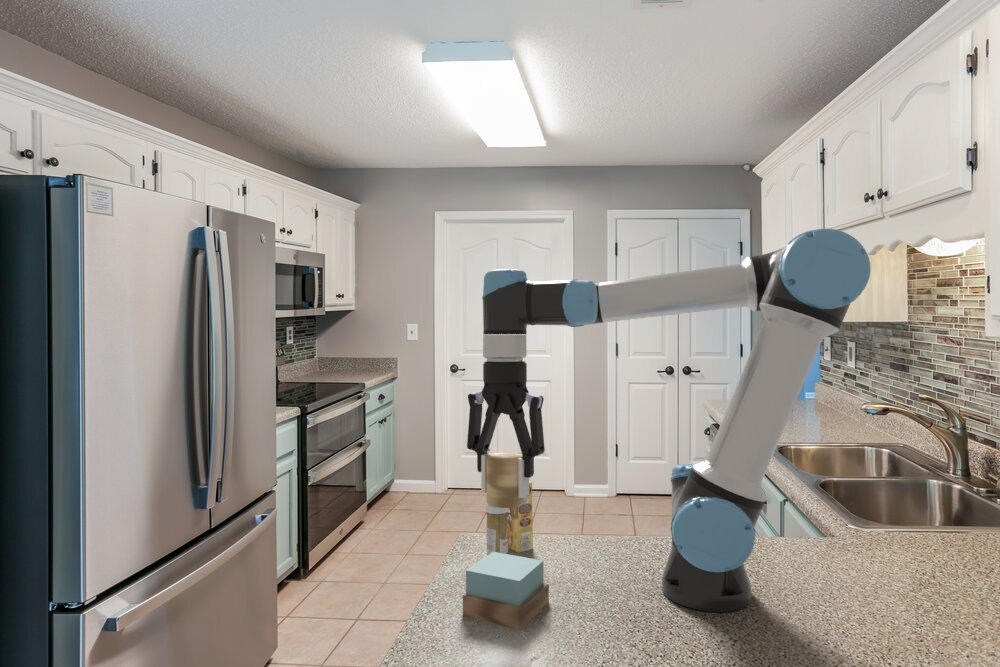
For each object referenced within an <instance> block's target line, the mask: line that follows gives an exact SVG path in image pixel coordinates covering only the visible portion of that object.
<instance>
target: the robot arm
mask: <svg viewBox="0 0 1000 667" xmlns="http://www.w3.org/2000/svg"><path fill="white" fill-rule="evenodd" d="M870 260H871V259H870V257H869V254H868V253H867V250H866V249H865V247H864V245H862V244H861V242H860V241H859V240H858V239H857V238H855V237H854V236H853V235H852V234H849V233H848V232H845V231H842V230H838V229H836V228H835V229H834V228H818V229H812V230H807V231H805V232H802V233H800V234H798V235H796V236H795V237H794V238H791V240H790V241H789V242H788V243H787V244H786V245H785V246H784V247H782V248H779V249H776V250H775V251H771V252H768V253H764V254H760V255H753V256H747V257H746V258H745V259H744V260H743V261H742V262H741V263H738V264H731V265H730V264H729V265H723V266H715V267H714V266H713V267H707V268H700V269H693V270H686V271H679V272H670V273H669V272H668V273H662V274H655V275H648V276H647V275H646V276H639V277H633V278H626V279H618V280H617V279H616V280H612V281H603V282H596V283H595V282H594V281H593V280H589V279H588V280H587V279H586V280H585V279H583V280H582V279H581V280H580V279H572V280H570V279H569V280H567V279H566V280H547V281H545V280H544V281H543V280H542V281H531V280H529V279H528V278H527V273H526V272H525V271H524V270H521V269H515V268H513V269H507V268H504V269H502V268H501V269H493V270H489V271H487V272H486V273H485V275H484V277H483V288H482V290H483V292H482V295H481V296H482V318H483V319H482V321H483V323H482V324H483V331H482V332H483V333H482V334H483V338H482V342H483V343H482V344H483V345H482V349H483V350H482V357H483V358H484V359H486V361H485V360H484V362H483V364H482V374H483V375H482V377H483V387H482V389H481V391H480V392H479V391H478V392H473V393H469V394H468V395H467V400H468V406H469V415H468V427H467V428H468V429H467V438H466V439H467V441H466V448H467V449H468V450H470V451H474V452H475V454H476V457H477V458H476V460H477V461H476V462H477V463H476V466H477V468H476V469H477V472H478V473H481V474H480V475H481V476H480V478H481V480H480V482H481V484H480V485H481V487H480V488H481V489H480V490H481V493H483V494H487V493H486V456H487V455H489V454H493V452H490V451H491V449H490V446H491V442H492V439H493V436H494V433H495V430H496V426H497V423H498V421H499V420H498V419H499V418H500V417H501V414H504V415H508V417H509V419H510V421H511V422H512V425H513V428H514V431H515V435H516V438H517V441H518V445H519V448H520V452H521V454H522V455H523V456H522V457H521V458H519V459H518V492H519V498H524V497H525V496H527V495H529V481H530V478H532V477H533V476H534V475H535V469H534V468H535V465H534V464H535V460H534V459H535V457H538V456H540V455H542V454H544V453H545V451H546V448H545V438H544V427H543V415H542V408H543V404H544V400H545V399H544V396H543V395H535V394H532V393H530V392H529V390H528V388H527V381H528V380H527V378H528V377H527V376H528V375H527V372H528V368H527V367H528V365H527V362H526V360H525V361H524V359H525V358H526V357H527V356H528V355H527V353H528V352H527V329H528V328H527V326H567V327H571V328H578V327H584V326H587V325H589V326H590V325H596V324H602V323H611V322H620V321H628V320H629V321H630V320H638V319H639V320H640V319H645V318H654V317H655V318H656V317H663V316H664V317H665V316H673V315H682V314H691V313H700V312H708V311H709V312H710V311H716V310H717V311H719V310H726V309H728V310H729V309H737V308H748V310H751V311H752V312H761V313H762V315H763V321H762V325H761V326H760V329H759V331H758V334H757V336H756V339H755V341H754V343H753V345H752V348H751V351H750V353H749V356H748V358H747V361H746V363H745V365H744V368H743V369H742V373H741V376H740V377H739V380H738V382H737V384H736V387H735V389H734V392H733V394H732V396H731V399H730V401H729V404H728V405H727V409H726V411H725V413H724V416H723V418H722V420H721V423H720V425H719V428H718V430H717V432H716V435H715V437H714V440H713V443H712V444H711V447H710V449H709V451H708V453H707V456H706V459H704V460H702V461H699V462H696V463H679V464H676V465H674V466H673V468H672V469H671V477H670V482H671V520H670V521H671V522H670V524H671V525H670V535H671V549H670V552H669V555H668V558H667V561H666V564H665V566H664V570H663V573H662V577H661V590H662V593H663V594H664V595H665V597H666V598H668V599H669V600H670V601H672V602H674V603H676V604H678V605H681V606H683V607H686V608H690V609H694V610H699V611H703V612H704V611H705V612H712V613H713V612H714V613H726V612H736V611H740V610H743V609H744V608H747V607H748V606H750V605H751V602H752V585H751V583H750V580H749V575H748V573H747V570H746V567H745V564H744V563H745V562H746V561H748V559H749V558H750V557H751V554H752V552H753V551H754V550H753V549H754V546H755V541H756V530H755V526H756V524H757V523H758V520H759V517H760V516H761V512H762V511H763V508H764V506H765V503H766V501H767V495H766V493H765V491H764V488H763V487H762V483H763V480H764V477H765V475H766V472H767V470H768V468H769V465H770V463H771V461H772V459H773V456H774V453H775V451H776V449H777V446H778V444H779V442H780V440H781V437H782V436H783V433H784V430H785V428H786V425H787V424H788V421H789V418H790V416H791V415H792V412H793V409H794V408H795V404H796V402H797V400H798V398H799V395H800V393H801V390H802V388H803V386H804V384H805V382H806V379H807V377H808V374H809V372H810V370H811V367H812V365H813V362H814V360H815V357H816V356H817V354H818V351H819V348H820V346H821V343H822V342H823V340H824V339H825V338H826V337H829V336H832V335H833V334H836V333H838V332H839V330H840V328H841V325H842V323H843V321H844V319H845V318H846V314H847V313H848V310H849V308H850V306H851V303H853V302H854V301H855V300H857V299H858V298H859V296H860V295H862V293H863V291H864V290H865V288H866V287H867V285H868V282H869V280H870V276H871V261H870ZM484 401H485V403H486V404H487V407H486V411H485V416H484V417H485V420H484V423H483V426H482V421H483V420H482V417H483V403H484ZM526 402H527V407H528V408H529V410H528V414H529V415H528V416H529V426H530V427H529V428H530V432H529V428H528V425H527V421H526V419H525V417H526V416H525V411H524V409H523V408H524V407H523V405H525V403H526Z"/></svg>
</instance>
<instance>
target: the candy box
mask: <svg viewBox="0 0 1000 667" xmlns="http://www.w3.org/2000/svg"><path fill="white" fill-rule="evenodd" d="M507 515H508V516H507V522H508V524H507V526H508V549H511V550H512V551H515V552H517V553H523V552H526V551H530V550H533V549H534V541H533V540H534V538H533V537H534V534H533V532H534V531H533V528H534V527H533V526H534V525H533V523H534V520H533V482H532V481H530V480H529V495H527V496H525V497H524V504H523V505H521V506H518V507H513V508H508V514H507Z"/></svg>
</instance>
